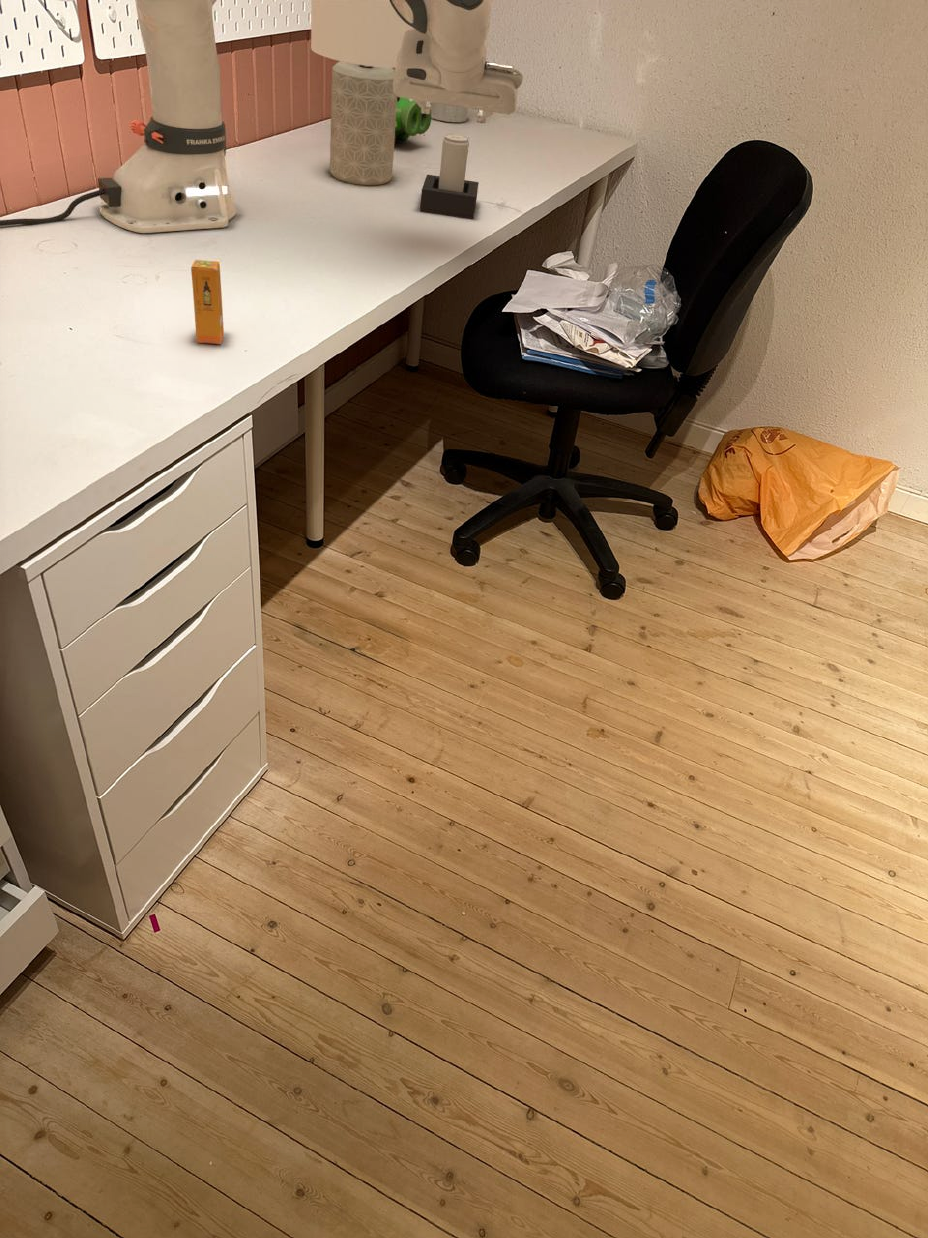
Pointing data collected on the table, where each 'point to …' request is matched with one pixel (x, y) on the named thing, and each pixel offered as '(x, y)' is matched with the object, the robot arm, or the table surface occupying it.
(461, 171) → the beverage can
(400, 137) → the piggy bank
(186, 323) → the table surface
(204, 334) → the supplement box
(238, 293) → the table surface
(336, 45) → the lamp
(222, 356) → the table surface
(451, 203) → the box socket
